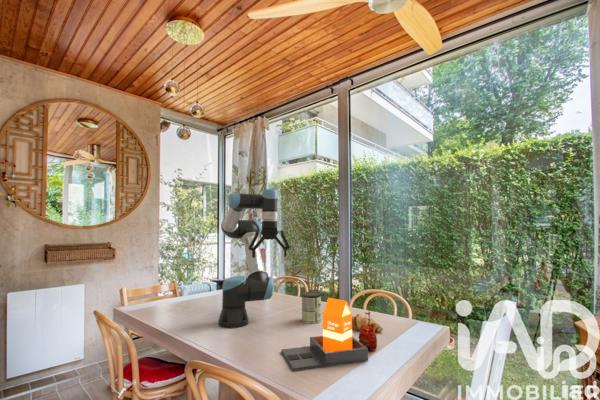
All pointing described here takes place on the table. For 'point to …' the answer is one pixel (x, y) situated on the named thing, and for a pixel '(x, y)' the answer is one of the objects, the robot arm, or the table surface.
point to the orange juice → (337, 326)
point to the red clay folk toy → (368, 336)
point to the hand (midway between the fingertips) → (269, 264)
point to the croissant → (364, 323)
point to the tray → (323, 355)
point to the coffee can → (311, 307)
